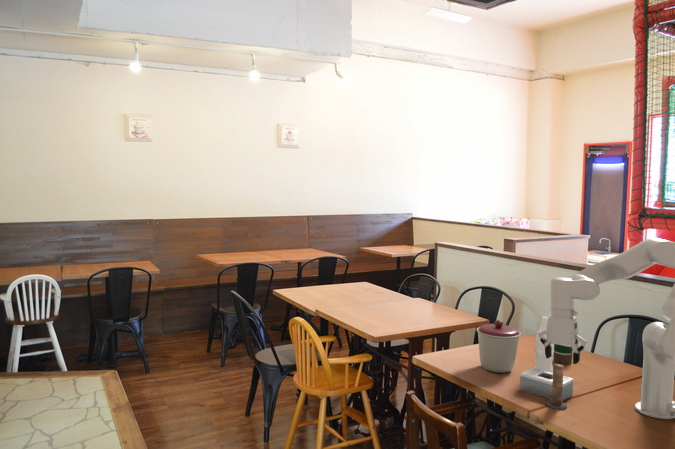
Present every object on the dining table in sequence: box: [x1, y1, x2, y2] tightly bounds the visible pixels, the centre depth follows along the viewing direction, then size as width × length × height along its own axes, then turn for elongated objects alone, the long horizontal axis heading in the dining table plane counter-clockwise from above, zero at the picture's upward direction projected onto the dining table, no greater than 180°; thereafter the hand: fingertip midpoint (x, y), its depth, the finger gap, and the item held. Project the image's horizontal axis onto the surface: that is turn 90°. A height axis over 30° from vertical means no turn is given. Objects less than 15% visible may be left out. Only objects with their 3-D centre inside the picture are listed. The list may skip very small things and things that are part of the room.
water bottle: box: [533, 316, 554, 373], centre depth 220 cm, size 7×7×25 cm
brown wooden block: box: [550, 363, 565, 406], centre depth 193 cm, size 3×3×14 cm
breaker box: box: [519, 367, 574, 402], centre depth 205 cm, size 16×10×6 cm, turn 45°
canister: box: [476, 319, 522, 374], centre depth 230 cm, size 18×18×21 cm
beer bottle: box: [552, 344, 574, 366], centre depth 241 cm, size 8×8×24 cm
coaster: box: [545, 399, 568, 411], centre depth 193 cm, size 7×7×1 cm
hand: (562, 360), depth 192 cm, fingers open, 9 cm apart
